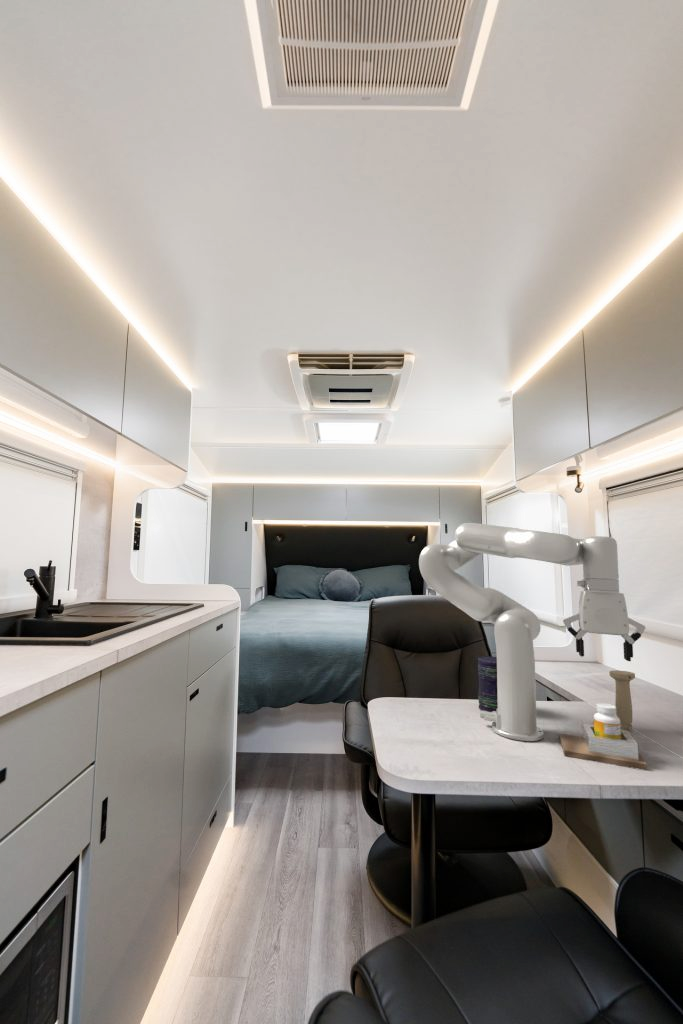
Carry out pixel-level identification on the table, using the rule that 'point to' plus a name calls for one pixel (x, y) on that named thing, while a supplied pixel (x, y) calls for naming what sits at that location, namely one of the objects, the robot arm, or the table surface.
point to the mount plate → (578, 749)
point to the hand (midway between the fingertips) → (604, 657)
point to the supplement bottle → (607, 722)
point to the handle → (623, 697)
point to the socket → (610, 744)
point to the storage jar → (487, 683)
